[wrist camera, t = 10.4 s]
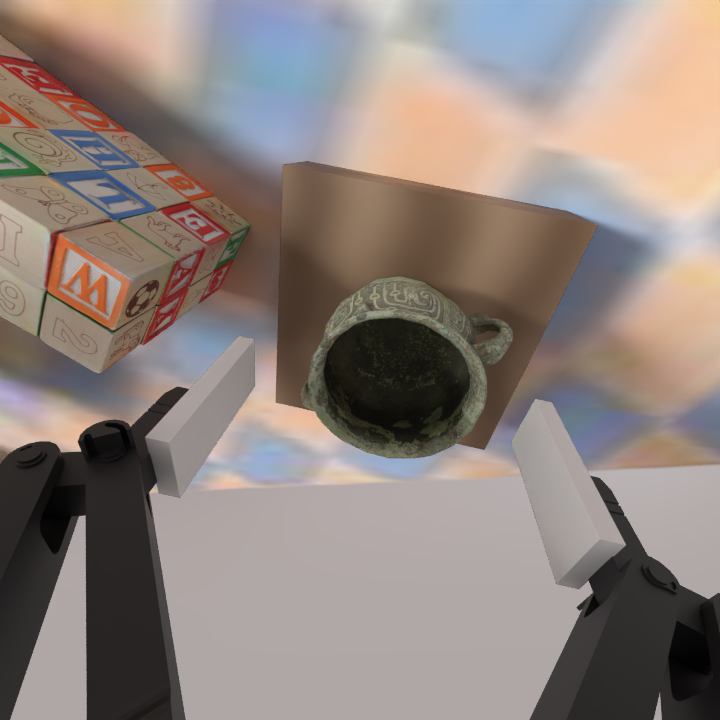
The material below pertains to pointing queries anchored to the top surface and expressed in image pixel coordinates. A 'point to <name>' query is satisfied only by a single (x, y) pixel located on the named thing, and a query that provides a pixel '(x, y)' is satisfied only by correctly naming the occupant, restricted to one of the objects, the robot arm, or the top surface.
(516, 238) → the walnut block
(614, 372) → the top surface
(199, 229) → the stack of blocks
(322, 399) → the vessel
